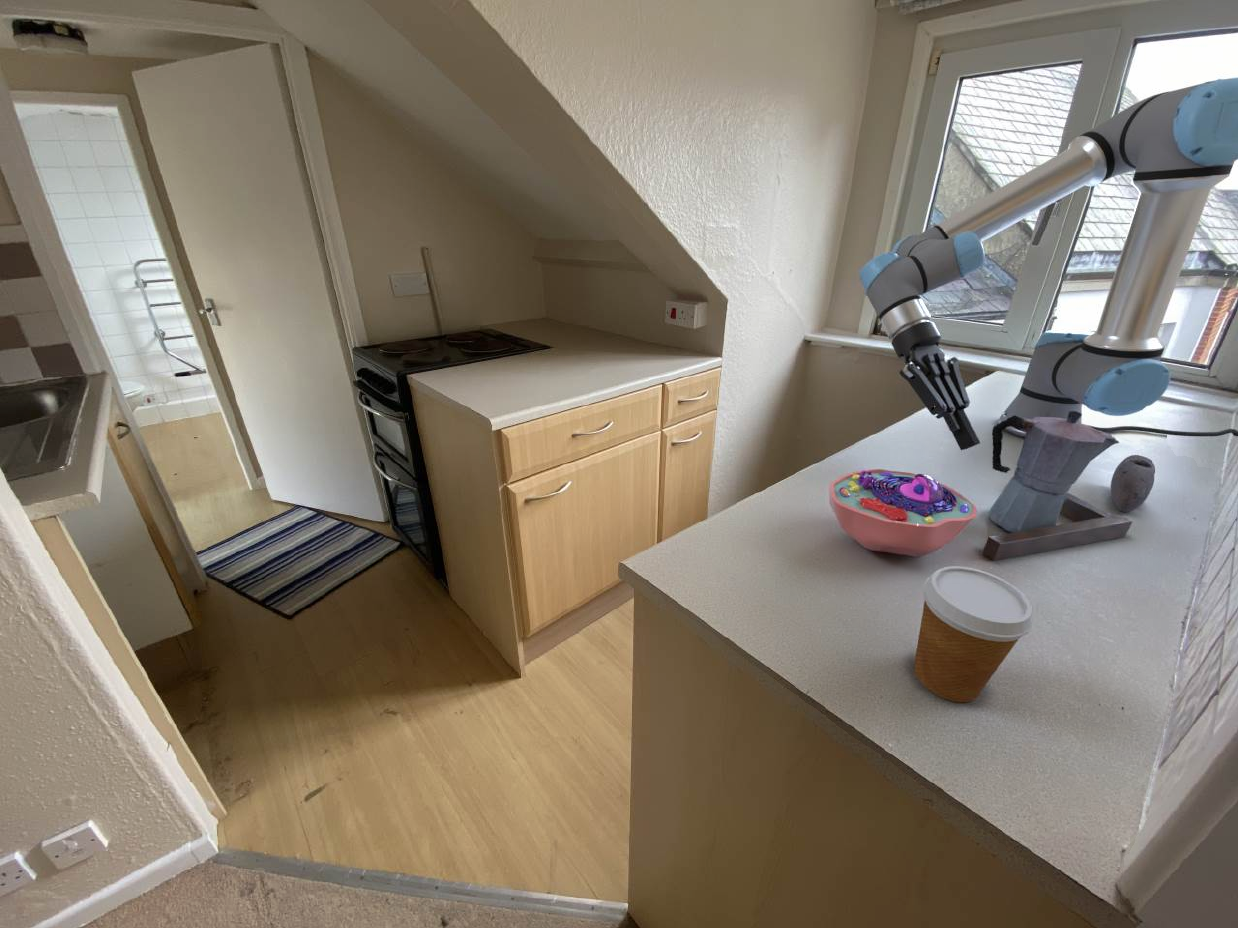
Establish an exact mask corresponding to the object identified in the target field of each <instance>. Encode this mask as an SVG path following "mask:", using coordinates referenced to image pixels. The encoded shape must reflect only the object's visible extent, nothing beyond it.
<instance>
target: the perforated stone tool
mask: <svg viewBox="0 0 1238 928" xmlns="http://www.w3.org/2000/svg"><path fill="white" fill-rule="evenodd" d="M1155 474H1156V467H1155V465H1154V463H1153V460H1152V459H1150V458H1149V457H1146V456H1143V455H1139V454H1132V455H1129V456H1127V457H1125V458H1124V459H1123V460H1122V461H1121V462H1119V464H1117V467H1116V468H1115V470H1114V471H1113V474H1112V476H1111V480H1110V494H1111V499H1112V501H1113V504H1114V506H1115V508H1116V509H1117V510H1119V511H1121V512H1126V513H1127V512H1132V511H1134V510H1136V509H1138V508H1139V507H1141V506H1142V505H1143V504H1144V503H1145V502H1146V500H1147V499H1148V497H1149V495H1150V494H1151V492H1152V489H1153V486H1154V484H1155Z"/></svg>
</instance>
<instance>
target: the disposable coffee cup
mask: <svg viewBox="0 0 1238 928" xmlns="http://www.w3.org/2000/svg"><path fill="white" fill-rule="evenodd" d="M922 594H923V599H924V602H923V607H922V615H921V619H920V620H921V621H920V627H919V633H918V639H917V645H916V652H915V659H914V664H913V671H914V674H915V676H916V678H917V680H918V681H919V682H920V684H922V686H924V687H925V688H926V689H927V690H928V691H930V692H931V693H933V694H934V695H936V696H937V697H940V698H942V699H944V700H948V701H950V702H955V703H970V702H972V701H974V700H976V699H977V698H978V697H979V694H980V693H981V692H982V691H983V689H984V688H985V686H986V685H987V683H989V681H990V680H991V678H993V676H994V674H995V673H996V671H997V670H998V669H999V667H1001V664H1002V663H1003V662H1004V660H1005V659H1006V657H1007V656H1008V655H1009V654H1010V652H1011V650H1012V649H1013V647H1014V646H1015V645H1016V643H1017V642H1018V641H1019V640H1020V639H1021V638H1022V637H1024V636H1026V635H1028V634H1029V633H1030V632H1031V630H1032V629H1033V628H1034V617H1033V607H1032V604H1031V602H1030V600H1029V599H1028V597H1027V596H1026V595H1025V594H1024V593H1023V592H1022V591H1021V590H1019V588H1018V587H1016V586H1015V585H1013V584H1012V583H1010V582H1008V581H1006V580H1005V579H1003V578H1001V577H999V576H998V575H994V574H993V573H990V572H987V571H983V570H981V569H977V568H973V567H969V566H968V567H967V566H956V565H951V566H944V567H942V568H939V569H936V570H935V572H934V573H933V574H932V575H931V576H929V577H927V578H926V579H925V581H924V582H923V585H922Z"/></svg>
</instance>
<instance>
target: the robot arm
mask: <svg viewBox="0 0 1238 928" xmlns="http://www.w3.org/2000/svg"><path fill="white" fill-rule="evenodd" d="M1237 160H1238V77H1230V78H1218V79H1215V80H1210V81H1205V82H1203V83H1199V84H1195V85H1190V86H1186V87H1183V88H1178V89H1175V90H1170V91H1165V92H1161V93H1157V94H1153V95H1151V96H1148V97H1147V98H1144V99H1141V100H1140V101H1138V102H1136V103H1133V104H1132V105H1130V106H1128V107H1127V108H1125V109H1123V110H1121V111H1119V112H1118V113H1116V114H1115V115H1113V116H1111V117H1109V118H1107V119H1106V120H1104V121H1102V122H1101V123H1099V124H1097V125H1096V126H1093V128H1091V129H1089V130H1088V131H1085V132H1083V133H1082V134H1080V135H1079V136H1076V138H1074V139H1073V140H1072V141H1071V142H1070V143H1069V145H1068V148H1067V149H1065V150H1064V151H1062V152H1059V153H1058V154H1057V155H1055V156H1054V157H1051V158H1050V159H1047V160H1046V161H1045V162H1043V163H1041V164H1039V165H1038V166H1036V167H1034V168H1032V169H1031V170H1029V171H1027V172H1025V173H1023V174H1022V175H1021V176H1019V177H1017V178H1015V179H1014V180H1012V181H1010V182H1008V183H1006V184H1005V185H1003V186H1001V187H999V188H997V189H996V190H994V191H992V192H991V193H988V194H987V195H986V196H983V197H982V198H980V199H978V200H976V201H975V202H974V203H971V204H970V205H968V206H966V207H965V208H963V209H961V210H960V211H958V212H955V213H954V214H952V215H951V216H949V217H947V218H946V219H944V220H942V221H940V222H939V223H937V224H935V225H933V226H932V227H929V228H928V229H926V230H924V231H923V232H921V233H919V234H918V235H917V234H916V235H909V236H906V237H903V238H902V239H900V240H899V241H897V243H895V245H894V246H893V247H892V250H891V251H887V252H886V253H881V254H879V255H877V256H875V257H873V258H872V259H870V260H869V261H867V263H865V264H864V265H863V267H862V268H861V270H860V272H859V280H860V282H861V285H862V287H863V290H864V293H865V296H866V297H867V298H868V300H869V303H871V305H872V307H873V309H874V311H875V313H876V315H877V317H878V319H879V321H880V323H881V326H882V327H883V329H884V331H885V333H886V336H887V338H888V339H889V340H891V342H890V344H891V346H892V348H893V350H894V352H895V354H896V356H897V357H898V359H900V360H904V363H905V366H904V367H903V368H902V369H900V370H899V371H898V373H899V375H900V376H901V377H902V378H904V380H906V381H907V382H908V383H909V385H910V386H911V388H912V389H913V390H914V393H915V394H916V395H917V396H918V397H919V399H920V400H921V403H922V404H923V405H924V406H925V408H926V409H927V410H928V412H929V413H930V414H931V416H935V418H936V419H939V420H940V419H942V418H943V420H944V422H945V423H946V425H947V427H948V429H949V431H950V432H951V434H952V435H953V437H954V439H955V441H956V443H957V446H958V448H959V450H960V451H964V450H968V449H970V448H972V447H974V446H975V447H976V446H977V445H979V444H981V442H980V439H979V437H978V435H977V433H976V432H975V429H974V428H973V426H972V423H971V421H970V419H969V417H968V415H967V413H966V411H965V410H966V409H967V408H969V407H970V404H971V401H970V398H969V396H968V392H967V389H966V386H965V384H964V380H963V377H962V374H961V371H960V369H959V359H958V358H957V357H956V356H953V357H951V358H949V357H948V356H946V355H945V352H944V351H943V350H942V349H941V348H940V346H939V343H940V341H941V340H942V335H941V334H940V332H939V330H938V328H937V326H936V324H935V322H933V321H931V320H932V316H931V314H930V313H929V311H928V309H927V307H926V305H925V304H924V302H923V300H922V298H921V296H922V295H924V294H927V293H929V292H931V291H934V290H936V289H939V288H941V287H944V286H945V285H948V284H951V283H953V282H955V281H957V280H960V279H964V278H965V277H966V276H969V275H971V274H972V273H975V272H976V271H978V270H980V269H981V268H982V267H983V265H984V262H985V250H984V246H983V242H984V241H986V240H987V239H990V238H991V237H993V236H995V235H997V234H999V233H1000V232H1002V231H1004V230H1006V229H1008V228H1010V227H1012V226H1013V225H1015V224H1016V223H1017V224H1018V222H1021V221H1023V220H1024V219H1027V218H1028V217H1030V216H1032V215H1033V214H1035V213H1037V212H1039V211H1041V210H1043V209H1045V208H1046V207H1049V206H1050V205H1052V204H1054V203H1055V202H1057V201H1059V200H1062V199H1063V198H1066V196H1068V195H1070V194H1072V193H1073V192H1076V191H1078V190H1080V189H1081V188H1083V187H1084V186H1087V187H1096V186H1098V185H1100V184H1101V183H1104V182H1105V181H1107V180H1109V179H1111V178H1114V177H1116V176H1120V175H1122V174H1127V173H1132V172H1134V174H1133V177H1132V181H1131V184H1132V186H1133V187H1135V188H1136V190H1137V191H1138V193H1139V194H1138V198H1137V202H1136V204H1135V207H1134V210H1133V214H1132V217H1131V221H1130V224H1129V227H1128V230H1127V234H1126V237H1125V239H1124V243H1123V246H1122V248H1121V251H1120V255H1119V258H1118V262H1117V264H1116V268H1115V271H1114V274H1113V278H1112V281H1111V284H1110V287H1109V291H1108V294H1107V296H1106V299H1105V302H1104V306H1103V309H1102V313H1101V315H1100V319H1099V322H1098V325H1097V328H1096V330H1095V331H1094V332H1092V331H1081V330H1080V331H1079V330H1076V331H1075V330H1053V329H1052V330H1046V331H1044V332H1042V333H1041V335H1040V336H1039V338H1038V340H1037V342H1036V344H1035V345H1034V350H1033V354H1032V356H1031V359H1030V362H1029V364H1028V367H1027V369H1026V372H1025V375H1024V378H1023V381H1022V383H1021V386H1020V389H1019V392H1018V394H1017V395H1016V396H1015V397H1014V398H1013V400H1012V401H1011V403H1010V404H1009V405H1008V406H1007V407H1006V408H1005V410H1004V411H1003V412H1002V413H1001V415H1000V416H999V420H998V424H1000V423H1001V422H1002V421H1006V420H1007V419H1008V418H1010V417H1012V416H1013V415H1015V416H1018V417H1020V418H1028V419H1034V418H1035V417H1053V418H1062V419H1066V420H1067V418H1068V414H1069V411H1077V412H1079V413H1081V414H1082V416H1083V412H1082V411H1083V409H1082V407H1083V406H1085V407H1087V408H1088V409H1089V410H1090V411H1094V412H1099V413H1101V414H1103V415H1106V416H1111V417H1123V416H1124V417H1125V416H1129V415H1133V414H1136V413H1139V412H1141V411H1143V410H1144V409H1146V407H1151V406H1152V405H1153V404H1155V403H1156V402H1157V401H1159V400H1160V399H1161V398H1162V396H1163V395H1164V394H1165V393H1166V391H1167V389H1168V388H1169V386H1170V383H1171V372H1170V371H1169V369H1168V367H1167V365H1166V364H1165V363H1164V362H1162V361H1161V359H1162V356H1163V353H1164V351H1165V347H1166V343H1165V342H1164V340H1163V339H1161V337H1160V336H1159V332H1160V329H1161V327H1162V324H1163V321H1164V320H1165V319H1164V318H1165V316H1166V313H1167V311H1168V308H1169V305H1170V302H1171V299H1172V297H1173V294H1174V292H1175V289H1176V286H1177V283H1178V280H1179V277H1180V275H1181V272H1182V269H1183V266H1184V264H1185V260H1186V258H1187V255H1188V253H1189V251H1190V247H1191V244H1192V242H1193V239H1194V236H1195V235H1196V234H1195V233H1196V231H1197V229H1198V226H1199V224H1200V220H1201V217H1202V214H1203V212H1204V209H1205V206H1206V204H1207V201H1208V198H1209V195H1210V194H1211V193H1210V192H1211V190H1212V189H1213V188H1214V187H1215V186H1217V185H1218V184H1220V183H1221V182H1222V181H1224V180H1226V179H1227V178H1229V177H1230V175H1231V172H1232V169H1233V166H1234V165H1235V162H1236V161H1237ZM1082 416H1081V417H1080V418H1079V420H1078V421H1077V423H1081V424H1083V423H1082V422H1083V420H1082V418H1083V417H1082ZM998 424H997V425H998ZM1087 425H1088V424H1087ZM1088 426H1090V427H1092V428H1094V429H1095V430H1098V431H1102V432H1105V433H1112V432H1120V431H1121V432H1123V431H1136V432H1145V433H1152V434H1160V435H1167V436H1168V435H1169V436H1178V437H1179V436H1180V437H1220V436H1224V435H1227V434H1232V436H1234V437H1238V430H1237V429H1236V428H1226V429H1223V430H1220V431H1182V430H1181V431H1180V430H1170V429H1161V428H1156V427H1155V428H1153V427H1147V426H1136V425H1121V426H1113V427H1098V426H1094V425H1088ZM1003 431H1005V432H1008V433H1009V434H1013V435H1015V436H1018V437H1021V438H1023V439H1025V436H1026V432H1025V431H1020V430H1017V429H1015V428H1014V427H1012V426H1010V427H1007V428H1005V429H1004V430H1003Z"/></svg>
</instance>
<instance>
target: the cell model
mask: <svg viewBox="0 0 1238 928" xmlns="http://www.w3.org/2000/svg"><path fill="white" fill-rule="evenodd" d="M828 493H829V494H828V501H829V505H830V508H831V509H832V512H833V513H834V515H835V517H836V519H837V522H838V525H839V527H840V528H841V529H842V530H843V531H844V532H845V533H846V534H847V535H849V536H850V537H851V538H852V539H854V540H855V541H856V542H857V543H858V544H859V545H860V546H861V547H863V548H864V549H867V550H869V551H875V552H883V553H890V554H894V555H901V556H908V557H922V556H925V555H929V554H931V553H934V552H936V551H938V550H940V549H942V548H943V547H945V546H946V545H948V544H950V543H951V542H952V541H954V540H955V539H956V538H957V537H958V536H959V535H960V534H961V533H962V531H963V530H965V528H966V527H967V526H968V525H969V524H970V523H971V522H972V521H973V519H974V518H976V516H977V514H978V509H977V507H976V506H975V504H974V503H973V502H972V501H971V500H970V499H968V498H967V497H965V496H964V495H963V494H962V493H960V492H958V491H957V490H956V489H954V488H952V487H950V486H948V485H945V484H943V483H940V482H939V481H938V480H937V479H936V478H935V477H933V476H930V475H928V474H924V473H917V474H916V473H913V472H906V471H896V470H888V469H882V468H874V469H873V468H871V469H862V470H858V471H853V472H849V473H847V474H845V475H842V476H841V477H839V478H836V479H834V480H833V481H832V482H830V484H829V492H828Z"/></svg>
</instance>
